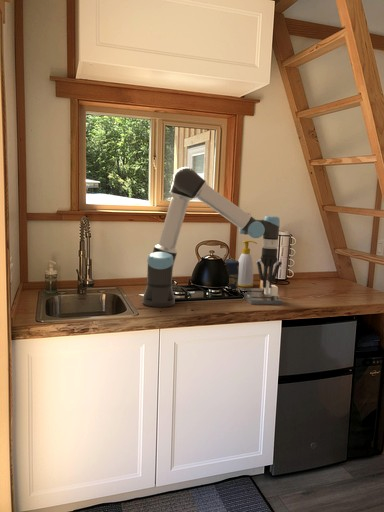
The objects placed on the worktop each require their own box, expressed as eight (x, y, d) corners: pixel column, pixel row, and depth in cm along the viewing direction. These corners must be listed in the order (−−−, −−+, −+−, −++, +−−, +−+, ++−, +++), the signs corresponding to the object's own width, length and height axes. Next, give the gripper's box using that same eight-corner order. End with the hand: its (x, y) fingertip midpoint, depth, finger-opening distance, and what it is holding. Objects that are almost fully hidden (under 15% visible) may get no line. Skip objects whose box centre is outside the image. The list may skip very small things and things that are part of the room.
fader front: (271, 297, 216) (272, 287, 215) (268, 295, 221) (269, 284, 220) (277, 297, 216) (278, 287, 216) (273, 295, 221) (274, 285, 220)
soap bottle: (254, 288, 248) (258, 242, 244) (234, 286, 248) (237, 241, 244) (252, 283, 259) (256, 240, 255) (233, 282, 259) (236, 239, 255)
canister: (236, 294, 230) (238, 260, 227) (218, 292, 232) (220, 259, 229) (238, 290, 239) (240, 258, 237) (221, 288, 241) (223, 256, 239)
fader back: (262, 291, 229) (263, 281, 228) (259, 289, 233) (260, 279, 233) (268, 291, 229) (268, 281, 228) (265, 289, 234) (265, 279, 233)
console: (250, 304, 211) (251, 298, 211) (237, 291, 236) (237, 286, 236) (282, 304, 214) (282, 298, 213) (265, 292, 239) (266, 286, 239)
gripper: (259, 248, 210) (255, 295, 213) (285, 249, 212) (281, 296, 215) (254, 246, 217) (251, 292, 220) (279, 246, 219) (276, 292, 222)
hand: (266, 294), depth 218 cm, fingers closed
